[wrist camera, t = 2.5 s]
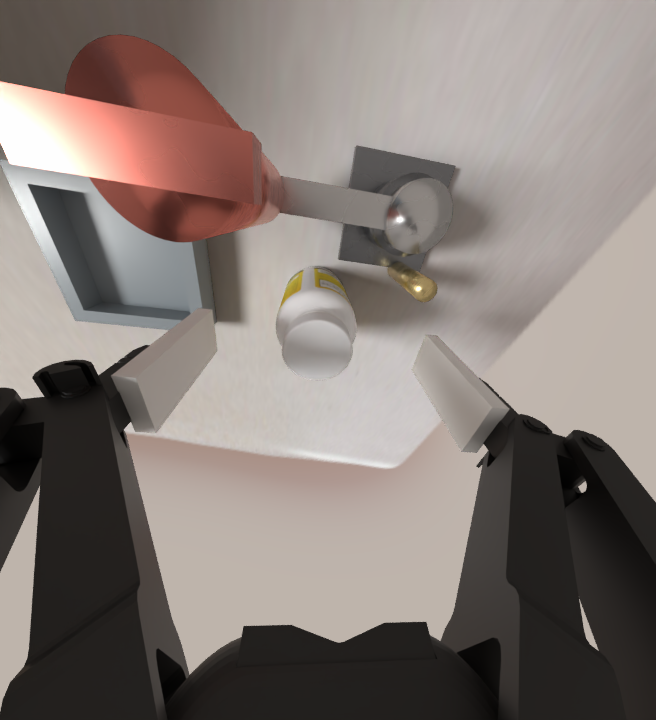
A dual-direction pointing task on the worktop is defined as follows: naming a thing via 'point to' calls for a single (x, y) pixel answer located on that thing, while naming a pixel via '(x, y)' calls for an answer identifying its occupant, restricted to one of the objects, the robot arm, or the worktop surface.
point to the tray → (109, 254)
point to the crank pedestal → (369, 244)
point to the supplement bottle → (316, 325)
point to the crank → (186, 154)
